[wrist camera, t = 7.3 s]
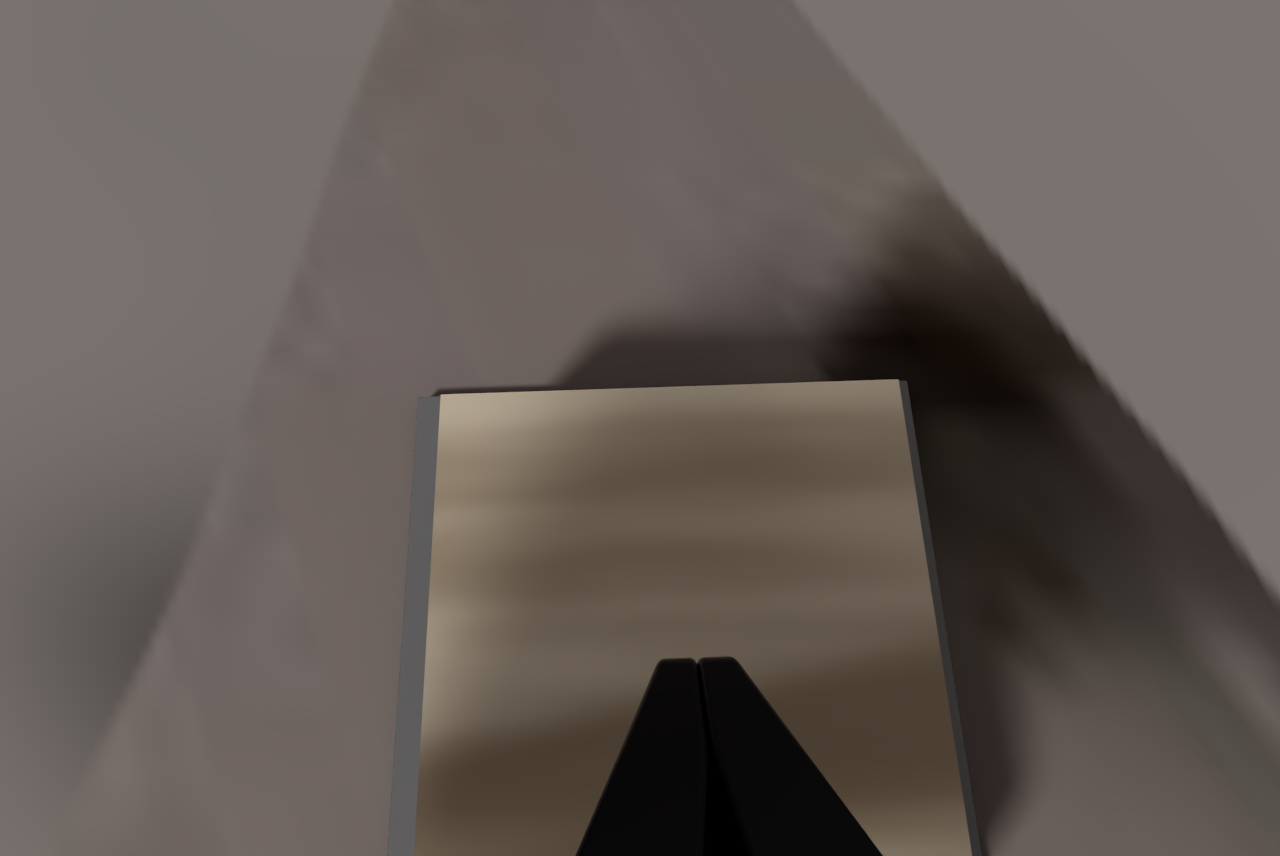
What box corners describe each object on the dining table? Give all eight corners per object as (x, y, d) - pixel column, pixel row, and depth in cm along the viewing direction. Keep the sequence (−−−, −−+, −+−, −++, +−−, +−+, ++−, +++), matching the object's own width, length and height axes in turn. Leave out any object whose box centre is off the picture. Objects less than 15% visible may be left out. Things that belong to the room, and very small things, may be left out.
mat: (1044, 1312, 12) (1057, 1333, 11) (362, 1335, 12) (353, 1358, 11) (900, 387, 17) (906, 380, 16) (423, 402, 17) (418, 396, 16)
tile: (1007, 1085, 9) (898, 379, 13) (399, 1105, 9) (440, 394, 13) (915, 978, 13) (846, 437, 16) (462, 993, 13) (482, 449, 16)
